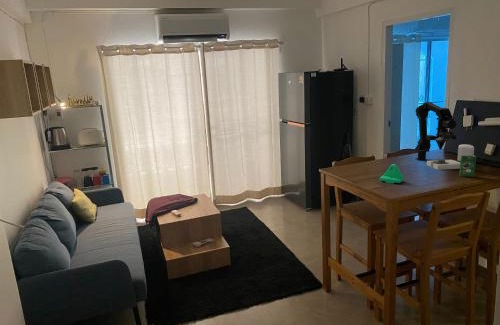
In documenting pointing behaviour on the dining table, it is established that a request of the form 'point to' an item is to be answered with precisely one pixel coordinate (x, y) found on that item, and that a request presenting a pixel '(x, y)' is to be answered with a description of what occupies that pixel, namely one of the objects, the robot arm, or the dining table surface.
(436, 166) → the board
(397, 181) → the green peaked piece
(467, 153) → the photo printer
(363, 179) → the dining table surface
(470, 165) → the coffee box
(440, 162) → the cap
